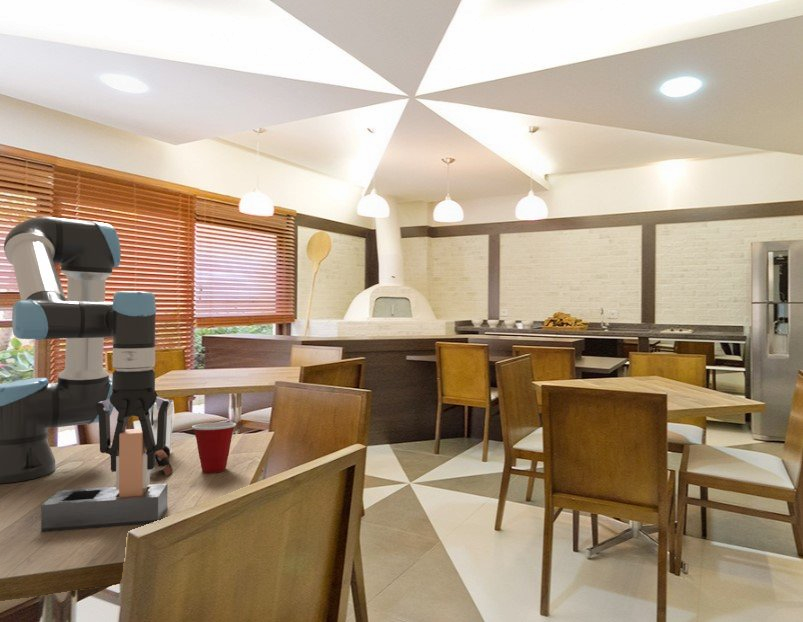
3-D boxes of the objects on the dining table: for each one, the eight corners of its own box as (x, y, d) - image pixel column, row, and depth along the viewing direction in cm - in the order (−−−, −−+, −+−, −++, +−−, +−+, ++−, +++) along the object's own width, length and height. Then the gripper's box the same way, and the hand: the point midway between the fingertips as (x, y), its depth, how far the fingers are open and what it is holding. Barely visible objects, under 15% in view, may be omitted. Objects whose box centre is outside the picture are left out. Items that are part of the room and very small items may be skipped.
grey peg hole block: (41, 532, 94) (41, 504, 94) (59, 515, 102) (60, 490, 102) (158, 522, 99) (158, 496, 99) (167, 507, 107) (167, 483, 107)
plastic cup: (236, 462, 139) (237, 418, 139) (235, 474, 129) (235, 426, 129) (194, 465, 136) (194, 420, 136) (188, 477, 126) (189, 429, 126)
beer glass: (141, 455, 145) (142, 402, 145) (159, 449, 152) (160, 398, 152) (161, 457, 143) (162, 404, 143) (179, 451, 149) (179, 400, 150)
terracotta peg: (118, 506, 99) (119, 434, 99) (125, 498, 103) (125, 429, 103) (141, 504, 100) (141, 433, 100) (146, 497, 104) (147, 428, 104)
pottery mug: (165, 482, 124) (146, 455, 122) (133, 497, 125) (114, 470, 124) (187, 456, 136) (169, 431, 134) (157, 470, 137) (140, 445, 135)
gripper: (78, 371, 96) (77, 496, 96) (176, 370, 100) (175, 489, 100) (93, 367, 103) (92, 483, 103) (183, 366, 107) (182, 477, 107)
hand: (133, 486), depth 102 cm, fingers closed on terracotta peg, 4 cm apart
